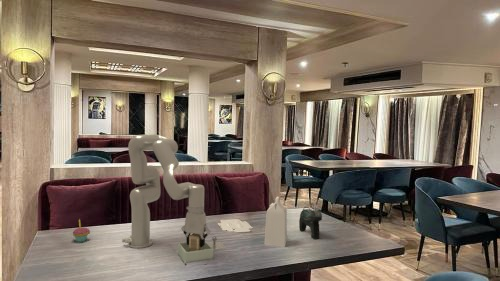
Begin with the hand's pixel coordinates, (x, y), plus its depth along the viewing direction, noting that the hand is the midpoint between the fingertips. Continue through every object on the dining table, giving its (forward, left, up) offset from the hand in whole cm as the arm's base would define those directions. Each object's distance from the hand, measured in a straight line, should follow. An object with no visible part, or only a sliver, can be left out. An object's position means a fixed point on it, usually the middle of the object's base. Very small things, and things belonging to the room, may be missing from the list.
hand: (195, 244), depth 167 cm
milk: (+49, +4, -7) cm, 50 cm away
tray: (+40, +41, -7) cm, 57 cm away
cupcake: (-51, +47, -7) cm, 70 cm away
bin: (0, 0, -6) cm, 6 cm away
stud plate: (+13, +8, -6) cm, 17 cm away
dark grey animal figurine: (+75, +8, -7) cm, 76 cm away
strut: (0, 0, -6) cm, 6 cm away
